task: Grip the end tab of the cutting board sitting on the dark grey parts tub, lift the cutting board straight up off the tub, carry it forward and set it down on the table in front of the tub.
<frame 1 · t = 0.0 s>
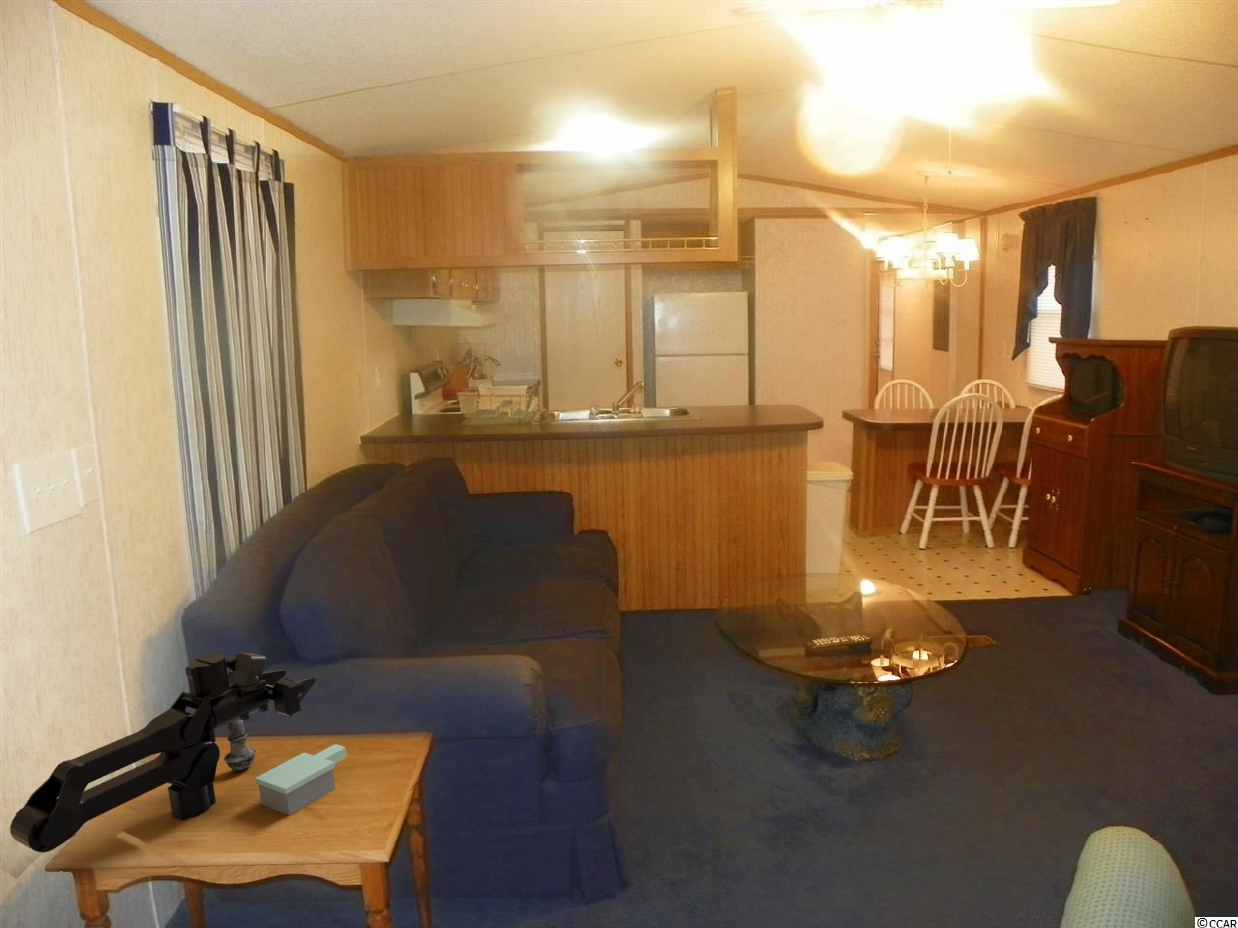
hand: (299, 675, 182), 17 cm above the table, tool horizontal, fingers open, 9 cm apart
grey upright turned figure: (242, 772, 179), on the table
part a: (289, 801, 164), point 1 cm above the table, touching tub
part b: (307, 791, 168), point 1 cm above the table, touching tub
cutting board: (295, 774, 165), point 5 cm above the table, touching tub
tub: (299, 800, 166), on the table
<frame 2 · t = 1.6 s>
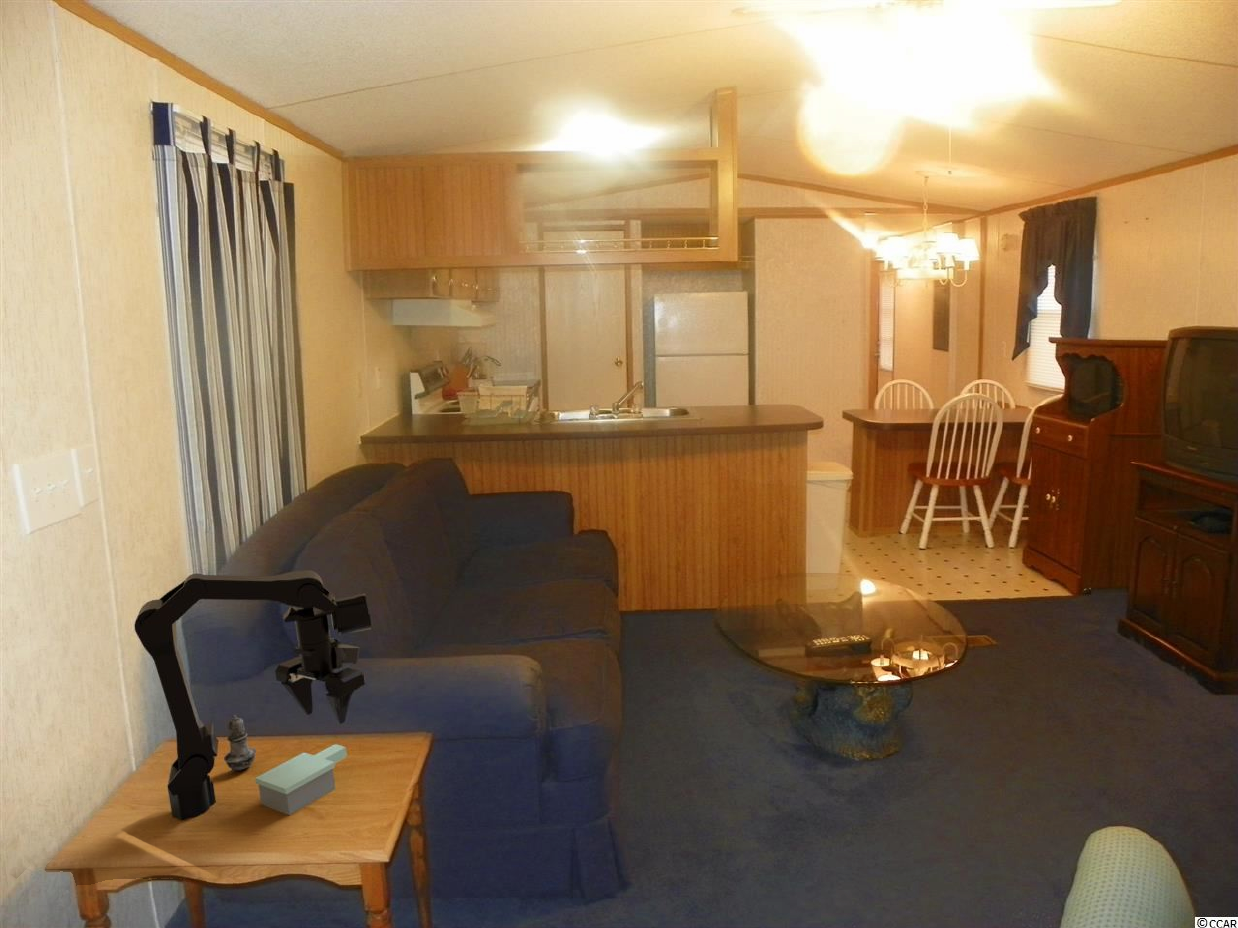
hand: (325, 718, 171), 13 cm above the table, tool pointing down, fingers open, 9 cm apart
nothing on the table moved.
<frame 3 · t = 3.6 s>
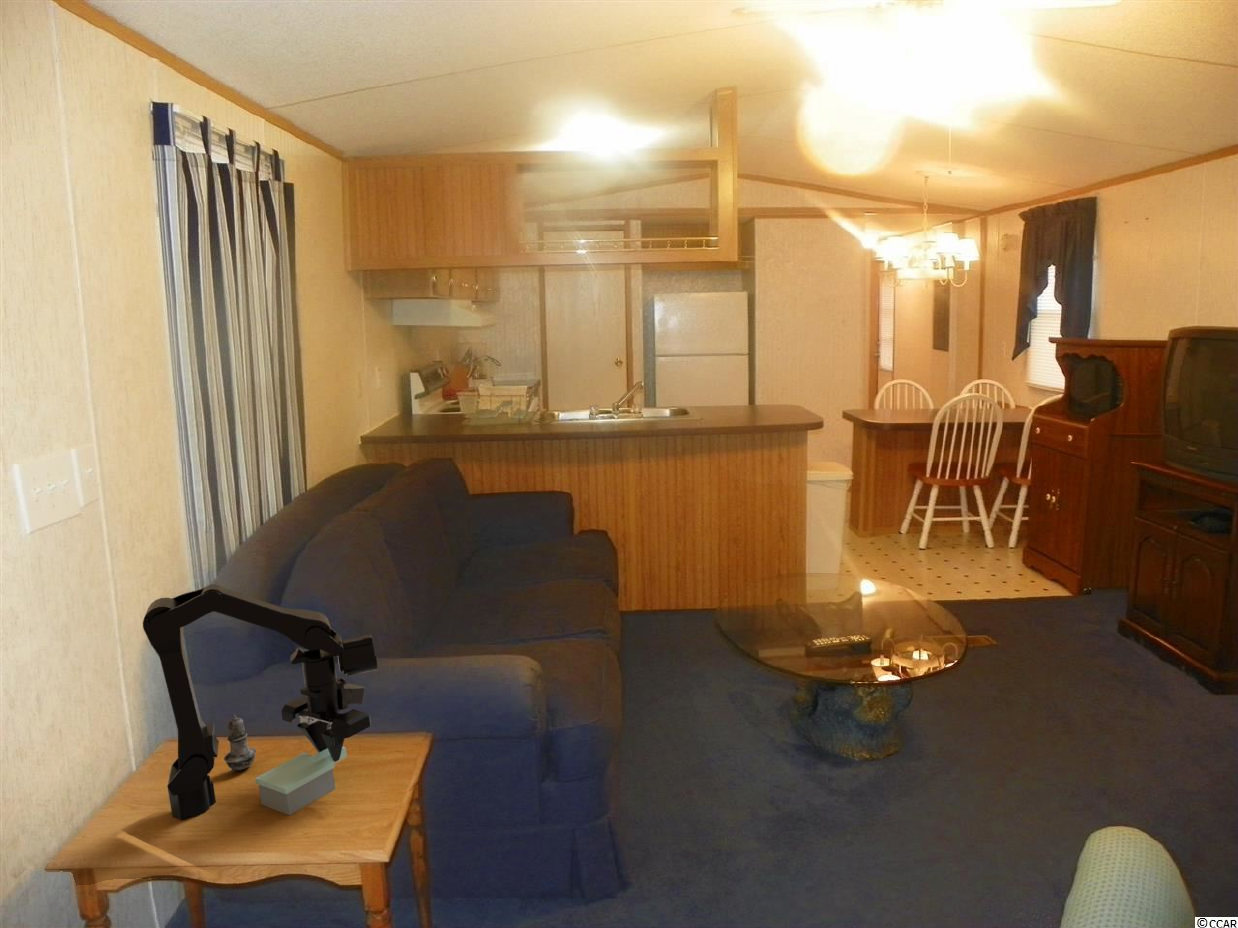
hand: (330, 758, 172), 5 cm above the table, tool pointing down, fingers closed on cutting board, 3 cm apart
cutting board: (295, 774, 165), point 5 cm above the table, touching gripper, tub
everything else where it was.
when the fingers open (2 cm above the table, at t = 8.1 s): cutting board drops 2 cm, point 1 cm above the table.
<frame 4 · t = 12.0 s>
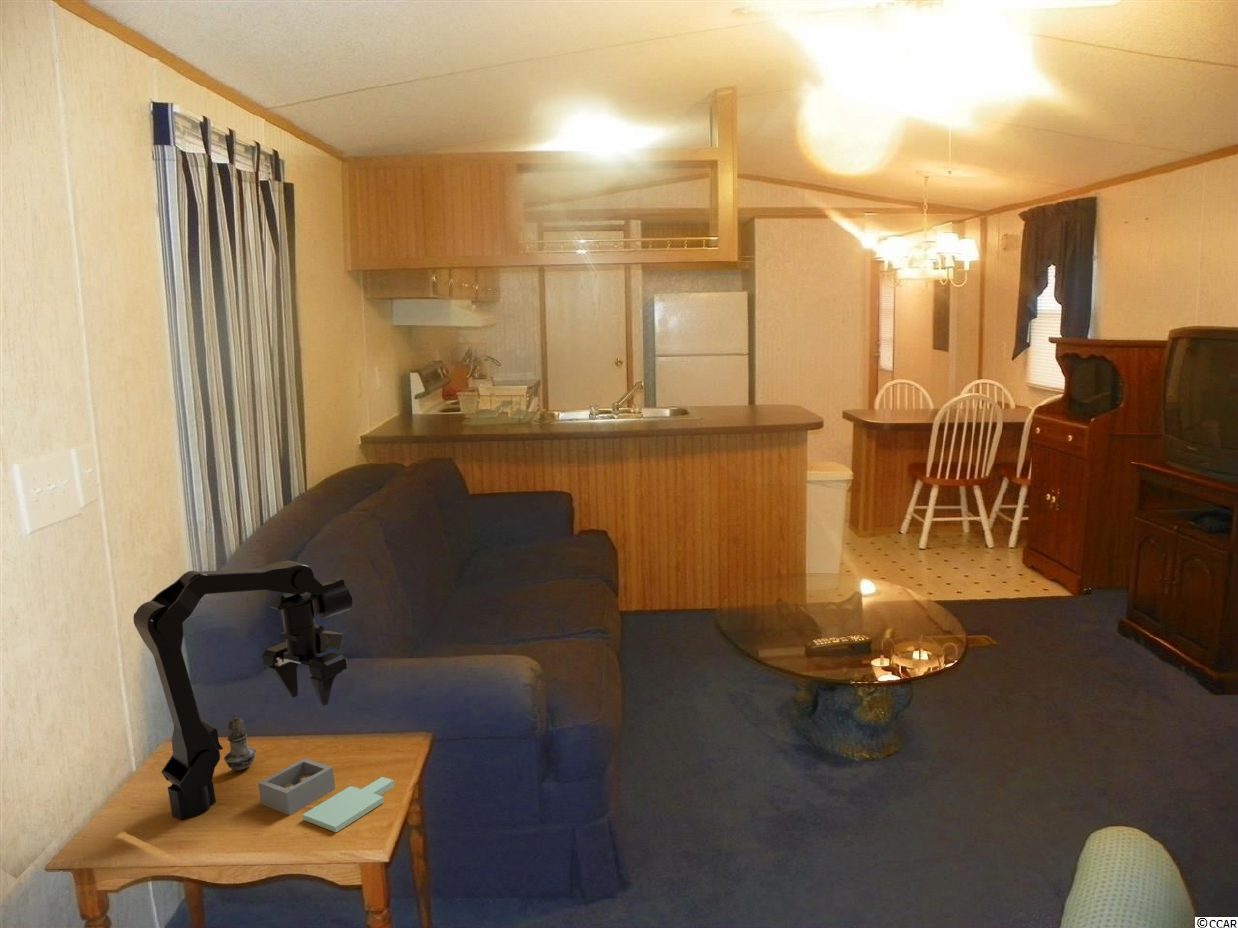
hand: (309, 700, 179), 13 cm above the table, tool pointing down, fingers open, 9 cm apart
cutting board: (344, 810, 160), point 1 cm above the table
everything else where it was.
at the end: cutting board moved 12.7 cm from its start; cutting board point 0.9 cm above the table; the gripper is holding nothing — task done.
